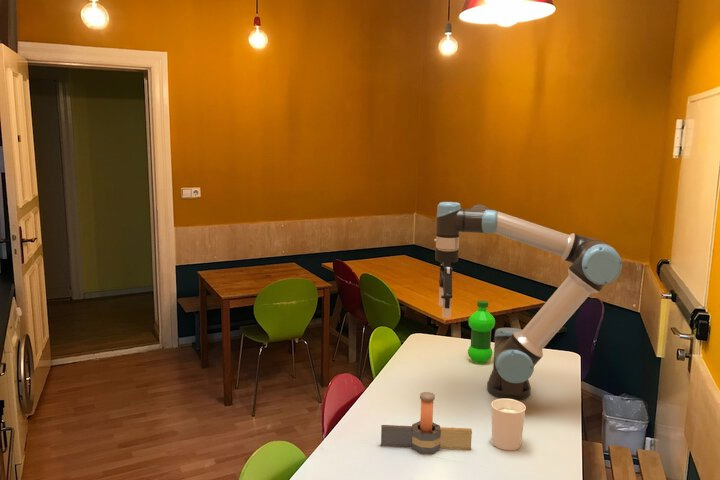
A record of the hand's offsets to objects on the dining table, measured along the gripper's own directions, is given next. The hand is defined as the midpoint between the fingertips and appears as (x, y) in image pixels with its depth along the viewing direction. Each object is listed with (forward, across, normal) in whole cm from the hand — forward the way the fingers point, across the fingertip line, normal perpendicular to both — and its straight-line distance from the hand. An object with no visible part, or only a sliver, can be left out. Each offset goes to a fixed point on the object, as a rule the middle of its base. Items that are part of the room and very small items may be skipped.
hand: (444, 311), depth 198 cm
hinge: (+32, +32, -7) cm, 46 cm away
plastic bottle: (+32, -39, +19) cm, 54 cm away
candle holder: (+32, +28, +17) cm, 46 cm away
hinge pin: (+32, +32, -7) cm, 46 cm away
